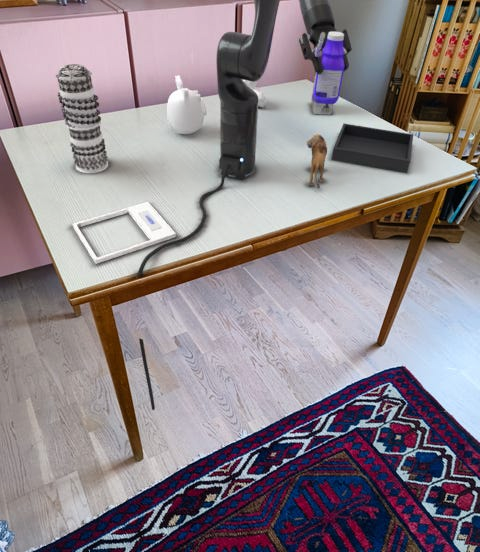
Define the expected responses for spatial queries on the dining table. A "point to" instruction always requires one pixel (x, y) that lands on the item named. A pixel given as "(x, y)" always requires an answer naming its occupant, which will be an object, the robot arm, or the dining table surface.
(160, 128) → the dining table surface
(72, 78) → the decorative candle
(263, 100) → the bust
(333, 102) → the bottle
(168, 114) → the piggy bank
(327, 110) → the coffee box
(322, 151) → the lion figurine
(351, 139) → the shallow square tray
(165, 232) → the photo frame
